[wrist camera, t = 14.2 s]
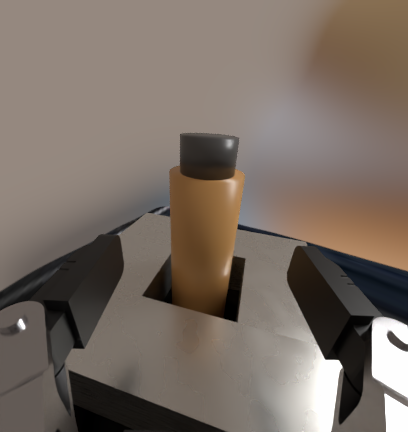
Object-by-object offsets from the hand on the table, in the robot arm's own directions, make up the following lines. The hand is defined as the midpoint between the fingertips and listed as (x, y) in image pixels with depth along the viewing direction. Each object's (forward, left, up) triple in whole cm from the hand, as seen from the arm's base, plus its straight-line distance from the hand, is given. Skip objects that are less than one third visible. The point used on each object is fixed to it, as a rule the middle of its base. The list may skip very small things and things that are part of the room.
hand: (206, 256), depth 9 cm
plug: (+1, -4, -9) cm, 10 cm away
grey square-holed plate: (+1, -4, -9) cm, 10 cm away
